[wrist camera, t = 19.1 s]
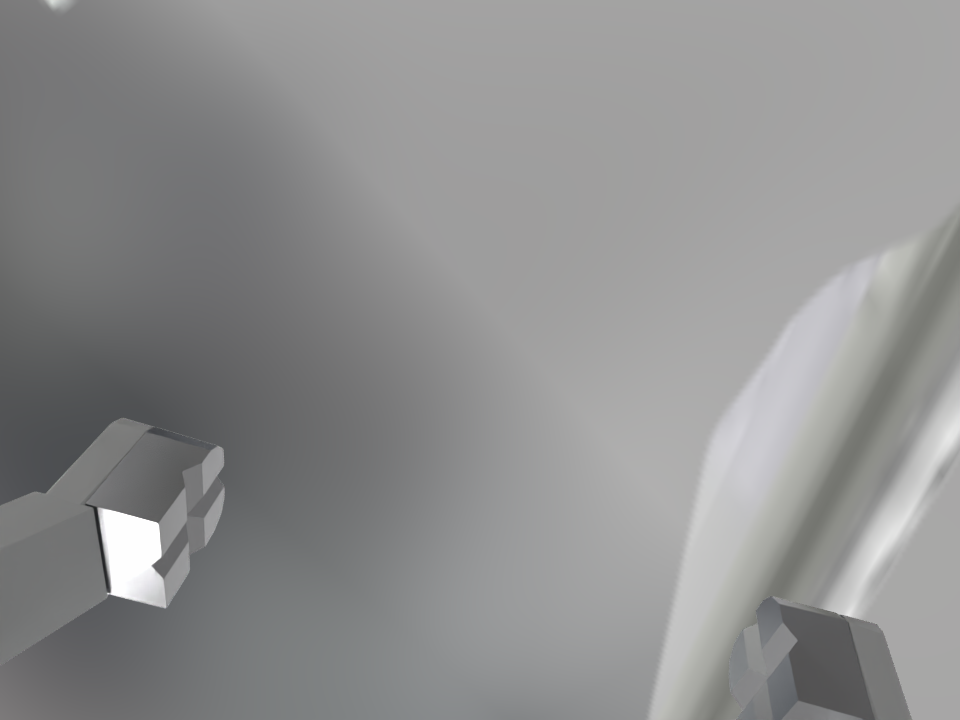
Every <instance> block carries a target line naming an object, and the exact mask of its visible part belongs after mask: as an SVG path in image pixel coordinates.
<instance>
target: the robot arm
mask: <svg viewBox="0 0 960 720" xmlns="http://www.w3.org/2000/svg"><path fill="white" fill-rule="evenodd" d="M223 466H224V454H223V448H221V447H219V446H217V445H214V444H210V443H207V442H204V441H200V440H197V439H193V438H191V437H187V436H184V435H181V434H177V433H174V432H171V431H167V430H164V429H161V428H157V427H152V426H149V425H146V424H142V423H139V422H135V421H132V420H129V419H125V418H121V419H119V420H117V421H115V422H113V423H111V424H110V425H109V426H108V427H107V428H106V429H105V431H104V432H103V433H102V434H101V435H100V436H99V437H98V438H97V439H96V440H95V441H94V442H93V444H92V445H91V446H90V447H89V448H88V449H87V450H86V451H85V452H84V453H83V454H82V455H81V456H80V458H78V460H77V461H76V462H75V463H74V464H73V465H72V466H71V467H70V468H69V469H68V470H67V471H66V472H65V474H64V475H63V476H62V477H61V478H60V479H59V480H58V481H57V482H56V484H54V485H53V487H51V489H50V490H49V491H48V492H47V493H46V494H43V493H39V492H33V493H30V494H28V495H25V496H23V497H20V498H18V499H16V500H13V501H10V502H8V503H6V504H3V505H0V666H1V665H2V664H4V663H5V662H7V661H8V660H10V659H12V658H13V657H15V656H16V655H18V654H19V653H21V652H23V651H24V650H26V649H27V648H29V647H31V646H32V645H34V644H35V643H37V642H38V641H40V640H41V639H43V638H45V637H46V636H48V635H49V634H51V633H52V632H54V631H56V630H57V629H59V628H61V627H62V626H64V625H65V624H67V623H68V622H70V621H72V620H73V619H75V618H76V617H78V616H79V615H81V614H83V613H84V612H86V611H87V610H89V609H90V608H92V607H94V606H95V605H97V604H98V603H100V602H101V601H103V600H104V599H106V598H107V597H108V594H111V595H115V596H118V597H123V598H127V599H130V600H134V601H138V602H143V603H147V604H151V605H154V606H158V607H162V608H167V606H168V604H169V603H170V602H171V600H172V598H173V597H174V595H175V594H176V592H177V590H178V589H179V587H180V586H181V584H182V583H183V581H184V579H185V578H186V576H187V575H188V573H189V572H190V563H189V555H190V554H192V553H194V552H196V551H197V550H200V549H202V548H203V547H205V546H206V544H207V542H208V541H209V539H210V537H211V536H212V534H213V532H214V531H215V528H216V525H217V523H218V520H219V518H220V515H221V513H222V508H223V503H224V485H223V484H222V482H221V481H220V480H219V478H218V477H217V475H218V473H219V472H220V470H221V469H222V468H223ZM756 615H757V622H758V623H757V624H754V625H752V626H749V627H746V628H744V629H743V630H742V631H741V633H740V635H739V636H738V638H737V639H736V641H735V643H734V646H733V650H732V653H731V657H730V662H729V683H730V693H731V694H732V696H733V697H734V698H735V700H736V701H737V703H738V704H739V706H740V707H741V709H742V710H743V711H742V712H741V714H740V715H739V716H738V718H737V719H736V720H912V718H911V715H910V712H909V709H908V706H907V703H906V700H905V697H904V694H903V691H902V688H901V685H900V682H899V679H898V676H897V673H896V670H895V667H894V664H893V661H892V658H891V655H890V651H889V648H888V645H887V642H886V639H885V636H884V633H883V631H882V630H881V629H880V628H879V626H878V625H877V624H874V623H870V622H867V621H863V620H859V619H855V618H852V617H848V616H844V615H838V614H837V613H834V612H830V611H827V610H823V609H819V608H815V607H811V606H807V605H804V604H800V603H796V602H792V601H788V600H784V599H781V598H777V597H773V596H770V597H768V598H766V599H765V600H763V601H762V603H761V604H760V605H759V607H758V608H757V610H756Z"/></svg>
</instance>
